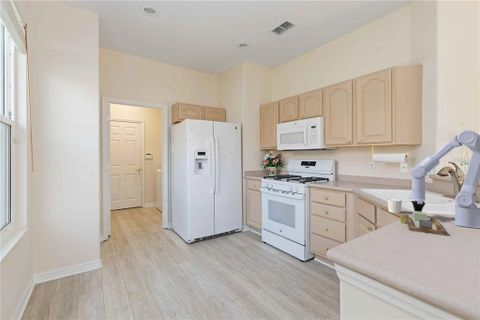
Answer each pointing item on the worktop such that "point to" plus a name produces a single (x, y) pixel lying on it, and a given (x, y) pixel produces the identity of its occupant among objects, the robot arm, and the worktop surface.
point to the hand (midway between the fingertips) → (417, 215)
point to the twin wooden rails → (426, 230)
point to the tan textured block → (402, 218)
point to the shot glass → (394, 205)
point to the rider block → (419, 216)
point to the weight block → (425, 224)
